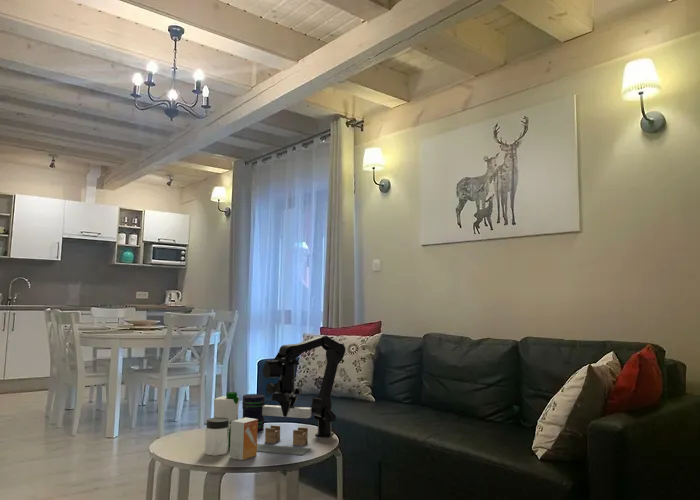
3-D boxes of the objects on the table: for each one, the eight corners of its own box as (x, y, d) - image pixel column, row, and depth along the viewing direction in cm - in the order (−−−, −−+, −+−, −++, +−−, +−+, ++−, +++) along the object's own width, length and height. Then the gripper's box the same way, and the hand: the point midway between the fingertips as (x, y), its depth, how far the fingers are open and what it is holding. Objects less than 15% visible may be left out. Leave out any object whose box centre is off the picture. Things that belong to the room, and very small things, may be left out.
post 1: (271, 438, 218) (271, 425, 218) (280, 439, 217) (280, 425, 217) (265, 442, 212) (265, 428, 213) (274, 443, 211) (274, 429, 212)
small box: (242, 460, 187) (244, 422, 188) (229, 458, 190) (230, 420, 191) (257, 455, 194) (258, 418, 195) (243, 452, 197) (244, 417, 198)
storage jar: (248, 427, 239) (249, 393, 241) (268, 428, 236) (268, 394, 238) (237, 431, 230) (238, 396, 232) (256, 433, 227) (257, 398, 228)
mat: (253, 444, 209) (253, 443, 209) (310, 449, 202) (310, 448, 202) (242, 450, 200) (242, 449, 200) (302, 455, 194) (302, 454, 194)
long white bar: (265, 413, 218) (265, 404, 219) (311, 416, 213) (311, 407, 213) (262, 415, 215) (262, 406, 215) (308, 418, 210) (308, 409, 210)
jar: (208, 457, 191) (209, 422, 192) (201, 451, 198) (202, 418, 199) (232, 453, 196) (233, 420, 197) (224, 448, 203) (225, 416, 204)
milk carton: (231, 447, 204) (232, 394, 206) (209, 446, 206) (211, 393, 208) (240, 442, 212) (241, 391, 215) (219, 440, 214) (221, 390, 217)
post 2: (298, 441, 215) (298, 427, 215) (307, 441, 214) (307, 427, 214) (292, 444, 209) (293, 430, 210) (302, 445, 208) (302, 431, 209)
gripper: (278, 372, 227) (277, 410, 225) (259, 378, 209) (258, 418, 207) (302, 374, 224) (301, 411, 222) (285, 379, 206) (285, 420, 204)
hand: (286, 415), depth 214 cm, fingers closed on long white bar, 3 cm apart
